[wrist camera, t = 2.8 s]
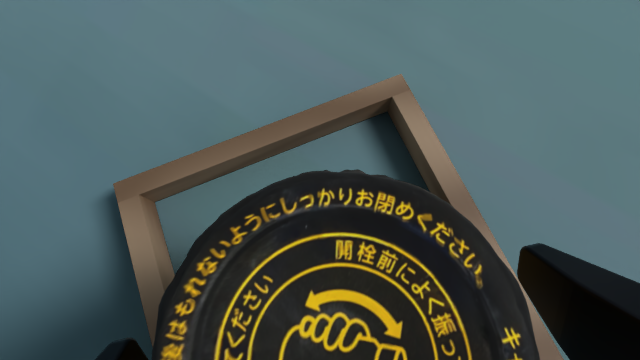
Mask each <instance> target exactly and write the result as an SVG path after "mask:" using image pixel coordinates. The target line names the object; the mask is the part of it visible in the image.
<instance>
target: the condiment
mask: <svg viewBox="0 0 640 360" xmlns="http://www.w3.org/2000/svg"><path fill="white" fill-rule="evenodd" d="M152 360H540V356H539V352H538V348H537V345H536V341H535V336H534V331H533V326H532V322H531V317H530V313H529V308H528V305H527V302H526V299H525V297H524V294H523V292H522V290H521V288H520V285H519V283H518V281H517V280H516V278H515V277H514V275H513V274H512V272H511V271H510V269H509V268H508V267H507V266H506V265H505V263H504V262H503V261H502V260H501V259H500V257H499V256H498V255H497V253H496V252H495V251H494V249H493V248H492V246H491V245H490V243H489V242H488V241H487V240H486V238H485V237H484V236H483V235H482V234H481V232H480V231H479V230H478V229H477V228H476V227H475V226H474V225H473V224H472V222H471V221H469V220H468V219H467V218H466V217H464V216H463V215H462V214H461V213H459V212H458V211H457V210H456V209H455V208H454V207H453V206H451V205H450V204H449V203H447V202H446V201H444V200H442V199H440V198H439V197H438V196H436V195H434V194H432V193H431V192H429V191H427V190H425V189H423V188H421V187H419V186H416V185H413V184H410V183H407V182H403V181H399V180H394V179H393V178H390V177H387V176H385V175H368V174H365V173H364V172H362V171H360V170H344V171H342V172H330V171H328V170H324V171H312V172H306V173H302V174H300V175H298V176H293V177H290V178H287V179H284V180H281V181H278V182H275V183H273V184H271V185H269V186H267V187H265V188H263V189H261V190H259V191H258V192H256V193H254V194H251V195H250V196H247V197H246V198H244V199H243V200H241V201H240V202H238V203H237V204H235V205H234V206H232V207H231V208H230V209H228V210H227V211H226V212H224V213H223V214H222V215H220V217H219V218H218V219H217V220H216V221H215V222H214V223H213V224H212V225H211V226H210V227H208V228H207V229H206V230H205V232H204V233H203V234H202V235H200V236H199V237H198V238H197V240H196V241H195V242H194V244H193V245H192V247H191V249H190V251H189V252H188V254H187V257H186V259H185V260H184V262H183V263H182V265H181V266H180V268H179V269H178V271H177V273H176V275H175V276H174V278H173V280H172V282H171V283H170V284H169V286H168V287H167V289H166V290H165V292H164V294H163V296H162V298H161V301H160V304H159V307H158V317H157V325H156V332H155V340H154V345H153V350H152Z"/></svg>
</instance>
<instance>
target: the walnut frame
mask: <svg viewBox="0 0 640 360" xmlns="http://www.w3.org/2000/svg"><path fill="white" fill-rule="evenodd" d="M384 112H388V114H389V115H390V117H391V119H392V121H393V123H394V125H395V127H396V129H397V130H398V132H399V134H400V136H401V138H402V140H403V142H404V144H405V145H406V147H407V149H408V151H409V153H410V155H411V157H412V159H413V160H414V162H415V164H416V166H417V168H418V170H419V172H420V174H421V176H422V177H423V179H424V181H425V183H426V185H427V187H428V189H429V191H430V192H431V193H432V194H434V195H436V196H438V197H439V198H440V199H442V200H444V201H446V202H447V203H449V204H450V205H451V206H453V207H454V208H455V209H456V210H457V211H458V212H459V213H461V214H462V215H463V216H464V217H466V218H467V219H468V220H469V221H471V222H472V224H473V225H474V226H475V227H476V228H477V229H478V230H479V231H480V232H481V234H482V235H483V236H484V237H485V238H486V240H487V241H488V242H489V243H490V245H491V246H492V248H493V249H494V251H495V252H496V253H497V255H498V256H499V257H500V259H501V260H502V261H503V262H504V263H505V265H506V266H507V267H508V268H509V269H510V271H511V272H512V274H513V275H514V277H515V278H516V280H517V281H518V283H519V285H520V288H521V290H522V292H523V294H524V297H525V299H526V302H527V305H528V308H529V313H530V317H531V322H532V326H533V331H534V336H535V341H536V345H537V348H538V352H539V356H540V360H564V359H563V358H562V356H561V354H560V352H559V351H558V349H557V347H556V345H555V344H554V342H553V340H552V338H551V337H550V335H549V333H548V331H547V330H546V328H545V326H544V324H543V322H542V321H541V319H540V317H539V315H538V314H537V312H536V310H535V308H534V307H533V305H532V303H531V301H530V300H529V298H528V296H527V294H526V293H525V291H524V289H523V287H522V285H521V284H520V282H519V280H518V278H517V277H516V275H515V273H514V271H513V270H512V268H511V266H510V264H509V263H508V261H507V259H506V257H505V256H504V254H503V252H502V250H501V249H500V247H499V245H498V243H497V241H496V240H495V238H494V236H493V234H492V233H491V231H490V229H489V227H488V226H487V224H486V222H485V220H484V219H483V217H482V215H481V213H480V212H479V210H478V208H477V206H476V204H475V203H474V201H473V199H472V197H471V196H470V194H469V192H468V190H467V189H466V187H465V185H464V183H463V182H462V180H461V178H460V176H459V175H458V173H457V171H456V169H455V168H454V166H453V164H452V162H451V160H450V159H449V157H448V155H447V153H446V152H445V150H444V148H443V146H442V145H441V143H440V141H439V139H438V138H437V136H436V134H435V132H434V131H433V129H432V127H431V125H430V123H429V122H428V120H427V118H426V116H425V115H424V113H423V111H422V109H421V108H420V106H419V104H418V102H417V101H416V99H415V97H414V95H413V94H412V92H411V90H410V88H409V86H408V85H407V83H406V81H405V79H404V78H403V76H402V74H400V75H397V76H394V77H392V78H389V79H386V80H384V81H381V82H379V83H376V84H373V85H371V86H368V87H365V88H363V89H360V90H358V91H355V92H352V93H350V94H347V95H344V96H342V97H339V98H337V99H334V100H331V101H329V102H326V103H324V104H321V105H318V106H316V107H313V108H310V109H308V110H305V111H303V112H300V113H297V114H295V115H292V116H289V117H287V118H284V119H282V120H279V121H276V122H274V123H271V124H268V125H266V126H263V127H261V128H258V129H255V130H253V131H250V132H247V133H245V134H242V135H240V136H237V137H234V138H232V139H229V140H226V141H224V142H221V143H219V144H216V145H213V146H211V147H208V148H205V149H203V150H200V151H198V152H195V153H192V154H190V155H187V156H185V157H182V158H179V159H177V160H174V161H171V162H169V163H166V164H164V165H161V166H158V167H156V168H153V169H150V170H148V171H145V172H143V173H140V174H137V175H135V176H132V177H129V178H127V179H124V180H122V181H119V182H116V183H114V184H113V185H114V189H115V194H116V198H117V202H118V206H119V210H120V214H121V218H122V223H123V227H124V231H125V235H126V239H127V243H128V247H129V252H130V256H131V260H132V264H133V268H134V272H135V276H136V281H137V285H138V289H139V293H140V297H141V301H142V305H143V310H144V314H145V318H146V322H147V326H148V330H149V334H150V339H151V343H152V347H153V345H154V340H155V332H156V325H157V317H158V307H159V304H160V301H161V298H162V296H163V294H164V292H165V290H166V289H167V287H168V286H169V284H170V283H171V282H172V280H173V278H174V276H175V274H174V271H173V267H172V264H171V260H170V256H169V253H168V249H167V245H166V242H165V238H164V234H163V231H162V227H161V224H160V220H159V216H158V213H157V209H156V205H155V202H156V201H159V200H162V199H164V198H167V197H169V196H172V195H174V194H177V193H179V192H182V191H185V190H187V189H190V188H192V187H195V186H197V185H200V184H202V183H205V182H208V181H210V180H213V179H215V178H218V177H220V176H223V175H225V174H228V173H231V172H233V171H236V170H238V169H241V168H243V167H246V166H249V165H251V164H254V163H256V162H259V161H261V160H264V159H266V158H269V157H272V156H274V155H277V154H279V153H282V152H284V151H287V150H289V149H292V148H295V147H297V146H300V145H302V144H305V143H307V142H310V141H312V140H315V139H318V138H320V137H323V136H325V135H328V134H330V133H333V132H335V131H338V130H341V129H343V128H346V127H348V126H351V125H353V124H356V123H358V122H361V121H364V120H366V119H369V118H371V117H374V116H376V115H379V114H382V113H384Z"/></svg>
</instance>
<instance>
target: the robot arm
mask: <svg viewBox="0 0 640 360" xmlns="http://www.w3.org/2000/svg"><path fill="white" fill-rule="evenodd" d="M517 275H518V279H519V282H520V283H521V285H522V287H523V288H524V290H525V292H526V293H527V295H528V296H529V298H530V300H531V301H532V303H533V305H534V306H535V308H536V309H537V311H538V313H539V314H540V316H541V317H542V319H543V321H544V322H545V324H546V325H547V327H548V329H549V330H550V332H551V334H552V335H553V337H554V338H555V340H556V341H557V343H558V344H559V345H560V347H561V348H562V350H563V351H564V352H565V354H566V355H567V356H568V358H569V359H570V360H640V283H638V282H635V281H633V280H630V279H628V278H625V277H623V276H621V275H618V274H616V273H613V272H611V271H608V270H606V269H603V268H601V267H598V266H596V265H594V264H591V263H589V262H586V261H584V260H581V259H579V258H576V257H574V256H571V255H569V254H567V253H564V252H562V251H559V250H557V249H554V248H552V247H549V246H547V245H544V244H541V243H537V244H533V245H528V246H524V247H523V248H522V249H521V251H520V256H519V263H518V270H517ZM95 360H148V358H147V357H146V355H145V354H144V352H143V351H142V349H141V348H140V346H139V345H138V343H137V342H136V340H135V339H133V338H125V339H121V340H117V341H114V342H112V343H110V344H109V345H108V346H107V347H106V348H105V349H104V350H103V351H102V353H101V354H100V355H99V356H98V357H97V358H96V359H95Z"/></svg>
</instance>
